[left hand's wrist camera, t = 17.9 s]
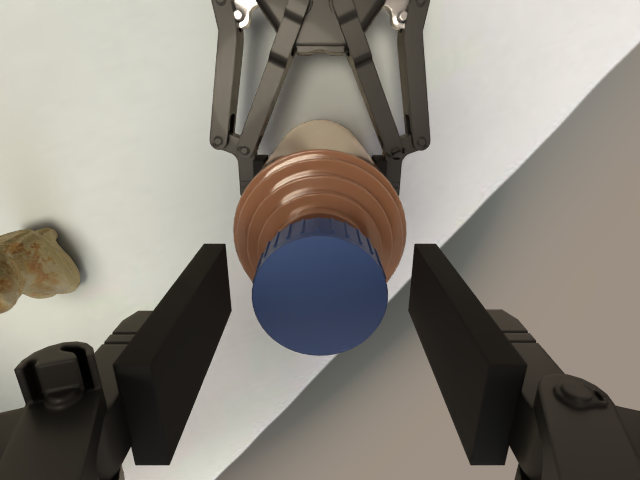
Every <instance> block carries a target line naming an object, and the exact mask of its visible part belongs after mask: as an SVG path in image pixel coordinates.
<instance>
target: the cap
mask: <svg viewBox="0 0 640 480" xmlns="http://www.w3.org/2000/svg"><path fill="white" fill-rule="evenodd" d="M385 279H387V278H386V275H385V272H384V269H383V266H382V264H381V261H380V258H379V255H378V253H377V250H376V249H374V248H373V246H372V245H371V243H370V240H369V238H366V237H365V236H364V235H363V234H362V233H361V232H360V230H359V229H355V228H354V227H352V226H350V225H348V224H347V222H345V223H344V222H341V221H338V220H333V218H331V219H327V218H319V217H316V218H312V219H306V220H304V219H302V221H299V222H296V223H294V224H292V225H291V224H289V225H288V227H286V228H284V229H283V230H282V231H280V232H279V231H278V232H277V234H276V236H275V237H274V238H273V239H272V240H271V241H268V243H267V246H266V249H265V251H264V253H263V252H262V254H261V257H260V259H259V262H258V265H257V268H256V273H255V276H254V279H253V282H252V283H253V288H252V303H253V308H254V312H255V315H256V317H257V319H258V321H259V323H260V324H261V326H262V328H263V329H264V330H265V331H266V333H267V334H268V335H269V336H270V337H271V338H272V339H274V340H275V341H276V342H278V343H279V344H281V345H282V346H284V347H286V348H288V349H290V350H293V351H295V352H299V353H302V354H307V355H317V356H322V355H332V354H337V353H341V352H344V351H347V350H349V349H352V348H354V347H356V346H357V345H359V344H361V343H362V342H363V341H365V340H366V339H367V338H368V337H369V336H371V334H372V333H373V332H374V331H375V330H376V329H377V327H378V326H379V324H380V322H381V320H382V318H383V316H384V314H385V310H386V307H387V301H388V289H387V284H386V280H385Z"/></svg>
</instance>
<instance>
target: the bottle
mask: <svg viewBox="0 0 640 480" xmlns="http://www.w3.org/2000/svg"><path fill="white" fill-rule="evenodd" d="M316 217H319V218H327V219H331V218H333V220H338V221H341V222H344V223H345V222H347V224H348V225H350V226H352V227H354V228H355V229H359V230H360V232H361V233H362V234H363V235H364V236H365V237H366V238H369V240H370V243H371V245H372V246H373V248H374V249H376V250H377V253H378V255H379V258H380V261H381V264H382V266H383V269H384V272H385V275H386V278H387V279H385V280H386V283H387V282H388V280H389V279H390V278H391V276H392V275H393V273H394V271H395V270H396V268H397V266H398V264H399V262H400V260H401V257H402V255H403V251H404V247H405V242H406V220H405V214H404V210H403V207H402V204H401V201H400V199H399V197H398V195H397V193H396V191H395V189H394V188H393V186H392V185H391V183H390V182H389V181H388V179H387V178H386V177H385V175H384V174H383V173H382V172H381V170H380V169H379V168H378V166H377V165H376V164H375V162H374V161H373V160H372V158H371V157H370V156H369V155H368V153H367V152H366V151H365V149H364V148H363V147H362V145H361V144H360V143H359V141H358V140H357V139H356V137H355V136H354V135H353V134H352V133H351V132H350V131H349V130H348V129H347V128H345V127H343V126H342V125H340V124H338V123H336V122H332V121H328V120H311V121H307V122H305V123H302V124H300V125H298V126H296V127H295V128H294V129H292V130H291V131H290V132H289V133H288V134H287V135H286V136H285V138H284V139H283V140H282V141H281V143H280V144H279V145H278V147H277V148H276V149H275V151H274V152H273V153H272V155H271V156H270V157H269V158H268V160H267V161H266V162H265V164H264V165H263V166H262V168H261V169H260V170H259V172H258V173H257V174H256V176H255V177H254V178H253V179H252V181H251V182H250V183H249V185H248V186H247V187H246V189H245V191H244V193H243V194H242V196H241V198H240V201H239V203H238V206H237V209H236V213H235V218H234V228H233V232H234V243H235V248H236V252H237V255H238V258H239V260H240V262H241V265H242V267H243V269H244V270H245V272H246V273H247V275H248V276H249V278H250V279H251V281H252V282H253V279H254V276H255V273H256V268H257V265H258V262H259V259H260V257H261V254H262V252H263V253H264V251H265V249H266V246H267V243H268V241H271V240H272V239H273V238H274V237H275V236H276V234H277V232H278V231H279V232H280V231H282V230H283V229H284V228H286V227H288V225H289V224H291V225H292V224H294V223H296V222H299V221H302V219H304V220H306V219H312V218H316Z"/></svg>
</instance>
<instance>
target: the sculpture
mask: <svg viewBox="0 0 640 480" xmlns="http://www.w3.org/2000/svg"><path fill="white" fill-rule="evenodd" d="M57 238H58V234H57V233H56V231H55V230H53V229H51V228H43V229H39V230H36V231H33V230H31V229H24V230H19V231H15V232H11V233H7V234H4V235H1V236H0V314H1V313H4V312H6V311H8V310H10V309H11V308H12V307H13V306H14V305H15V304H16V302H17V300H18V298H19V297H20V296H21V295H22V294H25V295H27V296H29V297H32V298H38V299H42V298H48V297H52V296H54V295H56V294H66V293H70V292H73V291H75V290H76V289H77V287H78V286H79V284H80V273H79V271H78V268H77V266H76V265H75V263H74V262H73V260H72V259H71V258H70V257H69V255H68V254H67V253H66V252H65V251H64V250H63V249H62V248H61V247H60V246H59V245H58V244H57V242H56V239H57Z"/></svg>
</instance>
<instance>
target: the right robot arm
mask: <svg viewBox="0 0 640 480" xmlns="http://www.w3.org/2000/svg"><path fill="white" fill-rule="evenodd" d="M429 3H430V0H212V5H213V9H214V13H215V18H216V22H217V26H218V30H219V31H218V43H217V56H216V68H215V80H214V93H213V105H212V117H211V130H210V144H211V146H212V147H213V148H215V149H217V150H224V151H227V152H230V153H232V154H233V155H235V157H236V158H237V160H238V165H239V180H240V194H241V196H242V194H243V193H244V191H245V189H246V187H247V186H248V185H249V183H250V182H251V181H252V179H253V178H254V177H255V176H256V174H257V173H258V172H259V170H260V169H261V168H262V166H263V165H264V164H265V162H266V161H267V160H268V155H258V154H257V151H258V149H259V148H258V147H259V145H260V142H261V140H262V137H263V134H264V132H265V129H266V127H267V124H268V121H269V119H270V116H271V114H272V111H273V108H274V106H275V103H276V101H277V98H278V95H279V93H280V90H281V88H282V85H283V82H284V80H285V77H286V75H287V72H288V70H289V68H290V66H291V63H292V61H293V58H294V55H295V53H296V54H298V55H312V54H315V53H319V52H322V53H326V54H329V55H343V54H345V53H346V56H347V58H348V61H349V64H350V66H351V68H352V70H353V73H354V75H355V78H356V81H357V83H358V86H359V89H360V91H361V94H362V97H363V99H364V102H365V105H366V107H367V110H368V113H369V115H370V118H371V121H372V123H373V126H374V129H375V131H376V134H377V137H378V139H379V142H380V145H381V147H382V150H383V155H372V160H373V161H374V162H375V164H376V165H377V166H378V168H379V169H380V170H381V172H382V173H383V174H384V175H385V177H386V178H387V179H388V181H389V182H390V183H391V185H392V186H393V188H394V189H395V191H396V193H397V195H398V196H399V190H400V177H401V164H402V160H403V159H404V157H405V156H406V155H408V154H410V153H413V152H415V151H418V150H425V149H427V148H428V147H429V145H430V129H429V115H428V101H427V87H426V73H425V59H424V45H423V28H424V24H425V20H426V15H427V11H428V7H429ZM259 7H260V9H261V10H262V12H263V13H264V15H265V16H266V18H267V19H268V21H269V22H270V24H271V25H272V27H273V28H274V30H275V31H276V32H277V35H276V37H275V40H274V43H273V46H272V48H271V51H270V55H269V59H268V62H267V65H266V68H265V71H264V73H263V76H262V79H261V82H260V84H259V87H258V90H257V93H256V95H255V98H254V101H253V104H252V106H251V109H250V112H249V115H248V117H247V120H246V123H245V125H244V128H243V131H242V134H241V135H238V134H236V133H235V124H236V114H237V104H238V94H239V85H240V75H241V65H242V55H243V44H244V35H243V29H246V28H248V27H249V26H250V24H251V15H252V12H253V11H254V10H255V9H256V8H259ZM382 8H383V9H385V10H387V11H388V13H389V15H390V24H391V26H392V28H394V29H395V30H398V37H397V46H398V58H399V68H400V79H401V90H402V100H403V111H404V122H405V133H406V134H404V135H401V136H399V133H398V131H397V128H396V125H395V122H394V119H393V117H392V114H391V111H390V108H389V105H388V102H387V100H386V97H385V94H384V91H383V88H382V86H381V83H380V80H379V77H378V74H377V71H376V69H375V66H374V63H373V60H372V55H371V51H370V48H369V46H368V43H367V40H366V37H365V34H364V33H365V32H366V30H367V29H368V28H369V26H370V25H371V23H372V22H373V20H374V19H375V17H376V16H377V14H378V13H379V12H380V10H381V9H382Z"/></svg>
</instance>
